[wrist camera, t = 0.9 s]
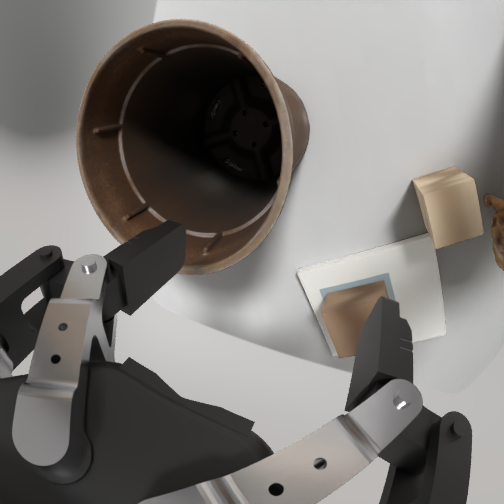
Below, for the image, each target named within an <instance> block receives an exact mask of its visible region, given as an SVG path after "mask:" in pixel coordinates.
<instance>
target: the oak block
mask: <svg viewBox="0 0 504 504" xmlns="http://www.w3.org/2000/svg"><path fill="white" fill-rule="evenodd" d="M412 181H413V184H414V187H415V191H416V194H417V198H418V201H419V205H420V209H421V212H422V216H423V220H424V224H425V227H426V229H427V231H428V233H429V235H430V237H431V239H432V242H433V244H434V246H435V248H436V249H438V248H442V247H445V246H448V245H452V244H455V243H458V242H462V241H465V240H468V239H471V238H474V237H477V236H481V235H484V233H483V225H482V218H481V212H480V206H479V200H478V195H477V190H476V185H475V181H474V179H473V178H471V177H470V176H468V175H467V174H465V173H464V172H462V171H461V170H459V169H458V168H456V167H451V168H447V169H444V170H441V171H438V172H434V173H431V174H428V175H425V176H421V177H418V178H415V179H412Z"/></svg>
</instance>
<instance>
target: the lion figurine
mask: <svg viewBox="0 0 504 504" xmlns="http://www.w3.org/2000/svg"><path fill="white" fill-rule="evenodd" d="M484 203H485V204H486V205H487V206H488V207H489V206H491V205H493V207H494V208H495V210H496V211H497V212H496V214H495V215H494V216H493V224H492V226H491V231H492V238H493V251H494V254H495V258H496V262H497V264H498V266H499V267H500V268H501V269H503V271H504V200H502V199H500V198H497V197H496V196H494V195H486V196H485V197H484Z"/></svg>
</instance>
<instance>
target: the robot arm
mask: <svg viewBox="0 0 504 504" xmlns="http://www.w3.org/2000/svg"><path fill="white" fill-rule="evenodd" d="M185 251H186V227H185V226H184V225H182V224H179V223H176V222H173V221H170V220H167V221H165V222H164V223H162V224H160V225H159V226H157V227H156V228H155V227H154V228H151V229H147V230H144V231H142V232H141V233H139V234H137V235H136V236H135V237H134V238H131V239H130V240H128V242H125V243H123V244H122V245H120V246H119V247H117V248H116V249H114V250H113V251H111V252H110V253H108V254H107V255H105V256H104V257H102V256H99V255H94V254H91V255H85V256H83V257H80V258H78V259H77V260H76V261H75V262H74V261H69V260H65V259H63V256H62V251H61V249H60V248H59V247H57V246H45V247H42V248H40V249H38V250H36V251H35V252H34V253H32V254H31V255H29V256H28V257H26V258H25V259H23V260H22V261H20V262H19V263H18V264H16V265H15V266H14V267H12V268H11V269H9V270H8V271H7V272H5V273H4V274H3V275H1V276H0V504H316V503H318V502H319V501H321V500H322V499H324V498H325V497H327V496H328V495H330V494H331V493H332V492H334V491H335V490H337V489H338V488H339V487H341V486H342V485H344V484H345V483H346V482H348V481H349V480H350V479H351V478H353V477H354V476H355V475H357V474H358V473H359V472H360V471H361V470H363V469H364V468H365V467H366V466H367V465H369V464H370V463H371V462H372V461H373V460H374V459H375V458H377V456H379V457H381V458H382V459H384V460H385V461H387V462H389V463H390V467H389V471H388V475H387V478H386V482H385V486H384V489H383V493H382V496H381V499H380V503H379V504H466V501H467V495H468V487H469V478H470V468H471V467H470V466H471V451H472V429H471V425H470V423H469V421H468V420H467V418H466V417H465V416H464V415H463V414H461V413H459V412H455V411H454V412H449V413H447V414H446V415H444V416H443V417H442V418H441V417H440V416H438V415H436V414H435V413H433V412H431V411H430V410H428V409H427V408H425V407H424V406H423V401H422V396H421V393H420V391H419V390H418V388H417V387H416V386H415V385H414V384H413V352H412V350H413V345H412V330H411V328H410V326H409V324H408V322H407V320H406V319H404V318H401V317H400V308H399V302H396V301H394V300H391V299H388V298H385V297H382V296H380V297H379V299H378V300H377V302H376V304H375V306H374V308H373V310H372V311H371V313H370V315H369V317H368V319H367V320H366V322H365V324H364V326H363V328H362V330H361V333H360V336H359V339H358V345H357V351H356V357H355V363H354V368H353V373H352V379H351V384H350V388H349V394H348V398H347V402H346V407H345V411H348V412H349V413H348V414H346V415H340V416H338V417H336V418H335V419H333V420H332V421H330V422H329V423H327V424H326V425H324V426H322V427H321V428H319V429H317V430H316V431H314V432H312V433H311V434H309V435H308V436H306V437H304V438H302V439H301V440H299V441H297V442H295V443H294V444H292V445H290V446H288V447H286V448H284V449H283V450H281V451H279V452H277V453H275V454H274V453H273V451H272V450H271V448H270V447H269V446H268V445H267V444H266V442H265V441H264V440H263V439H262V438H260V437H259V436H258V435H257V434H256V433H254V432H253V431H251V429H252V427H253V425H254V422H253V421H251V420H248V419H246V418H244V417H241V416H239V415H236V414H234V413H232V412H230V411H228V410H225V409H223V408H221V407H217V406H213V405H209V404H204V403H200V402H196V401H192V400H189V399H185V398H182V397H181V396H179V395H178V394H177V393H176V392H175V391H174V390H173V389H172V388H170V387H169V386H168V385H167V384H166V383H165V382H164V381H163V380H162V379H161V378H160V377H159V376H158V375H157V374H156V373H154V372H153V371H151V370H149V369H147V368H146V367H144V366H142V365H141V364H139V363H137V362H136V361H134V360H133V359H131V358H130V357H129V358H128V359H127V360H126V361H125V362H124V363H123V364H121V363H116V362H115V359H114V350H115V337H116V326H117V314H116V313H117V312H119V311H120V310H122V311H123V312H125V313H127V314H128V315H132V314H133V313H134V312H135V311H136V310H137V309H138V308H139V307H140V306H141V305H142V304H143V303H145V302H146V301H147V300H148V299H149V298H150V297H151V296H152V295H153V294H154V293H156V292H157V291H158V290H159V289H160V288H161V287H162V286H163V285H164V284H165V283H167V282H168V281H169V280H170V279H171V278H172V277H173V276H174V275H175V274H177V273H178V272H179V271H180V270H181V268H182V266H183V264H184V261H185ZM39 286H40V288H41V291H42V294H43V296H44V298H43V299H42V300H40V301H39V302H38V303H37V304H36V305H34V306H33V307H32V308H31V309H30V310H29V311H28V312H26V313H25V314H23V312H22V310H21V304H22V302H23V300H24V298H26V297H27V296H28V295H29V294H31V293H32V292H33V291H34V290H36V289H37V288H38V287H39ZM33 350H34V353H33V357H32V361H31V365H30V370H29V374H26V375H20V376H14V377H13V376H12V375H11V373H12V371H13V370H14V369H15V368H16V367H17V366H18V365H19V364H20V363H21V362H22V361H23V360H24V359H25V358H26V357H27V356H28V354H30V353H31V352H32V351H33Z"/></svg>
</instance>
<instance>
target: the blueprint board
mask: <svg viewBox="0 0 504 504" xmlns="http://www.w3.org/2000/svg"><path fill="white" fill-rule="evenodd" d="M297 274H298V277H299V279H300V281H301V283H302V286H303V288H304V290H305V292H306V295H307V297H308V299H309V301H310V304H311V306H312V308H313V311H314V313H315V315H316V318H317V320H318V322H319V325H320V327H321V329H322V332H323V334H324V336H325V339H326V341H327V343H328V346H329V348H330V351H331V353H332V355H333V356H338V354H337V352H336V349H335V347H334V344H333V342H332V339H331V337H330V335H329V332H328V330H327V327H326V325H325V322H324V320H323V318H322V315H321V312H322V308H323V305H324V301H325V298H326V294H327V293H331V292H335V291H339V290H344V289H348V288H352V287H357V286H361V285H365V284H369V283H373V282H377V281H381V280H384V281H385V285H386V289H387V293H388V296H389V299H391V300H394V301H396V302H399V308H400V317H401V318H404V319H406V320H407V322H408V324H409V326H410V328H411V330H412V342H417V341H421V340H425V339H430V338H434V337H438V336H442V335H445V334H446V329H445V316H444V305H443V296H442V288H441V281H440V274H439V268H438V262H437V256H436V250H435V246H434V244H433V242H432V239H431V237H430V235H429V233H426V234H422V235H419V236H415V237H412V238H409V239H405V240H402V241H398V242H395V243H391V244H388V245H384V246H381V247H377V248H373V249H370V250H366V251H363V252H359V253H355V254H352V255H348V256H344V257H341V258H337V259H333V260H330V261H326V262H322V263H318V264H314V265H311V266H307V267H303V268H299V269H298V271H297Z"/></svg>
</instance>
